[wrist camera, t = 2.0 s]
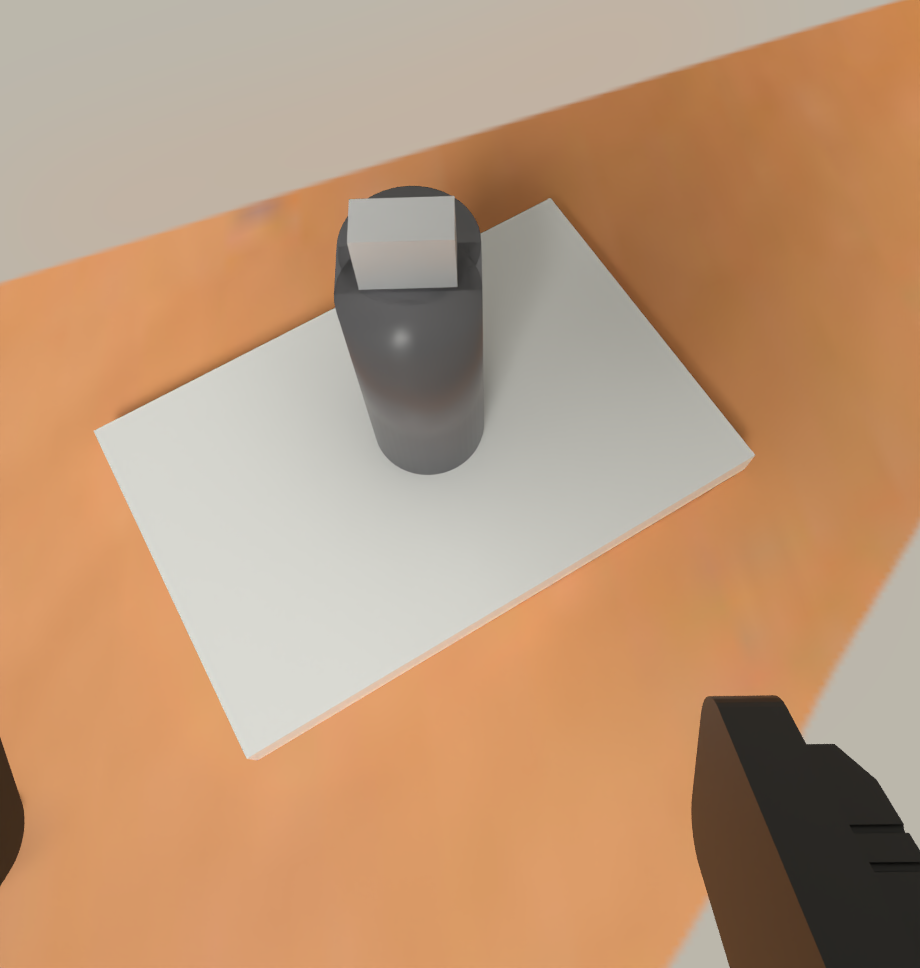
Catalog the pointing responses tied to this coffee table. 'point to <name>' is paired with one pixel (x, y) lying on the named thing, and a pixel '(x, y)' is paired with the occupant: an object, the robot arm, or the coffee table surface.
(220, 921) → the coffee table surface
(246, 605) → the dock plate
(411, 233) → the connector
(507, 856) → the coffee table surface
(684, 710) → the coffee table surface
